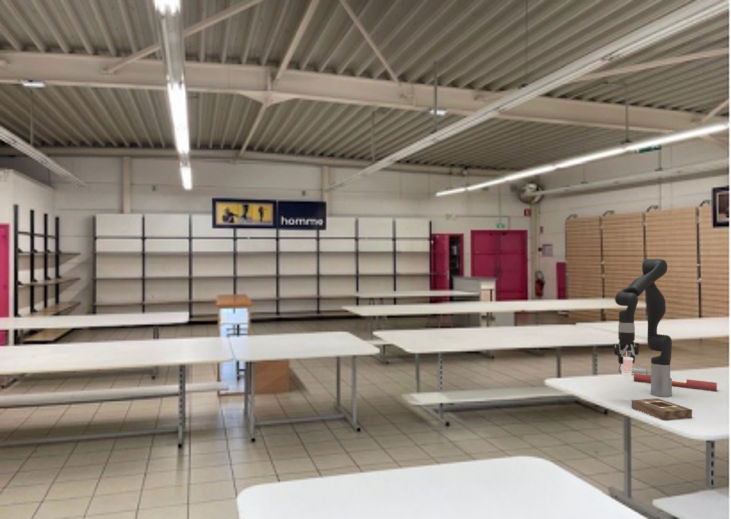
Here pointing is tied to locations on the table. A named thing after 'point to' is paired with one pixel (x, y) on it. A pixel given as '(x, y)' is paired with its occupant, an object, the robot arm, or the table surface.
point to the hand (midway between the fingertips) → (626, 363)
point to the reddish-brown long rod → (680, 383)
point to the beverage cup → (627, 366)
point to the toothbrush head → (640, 371)
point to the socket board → (661, 409)
